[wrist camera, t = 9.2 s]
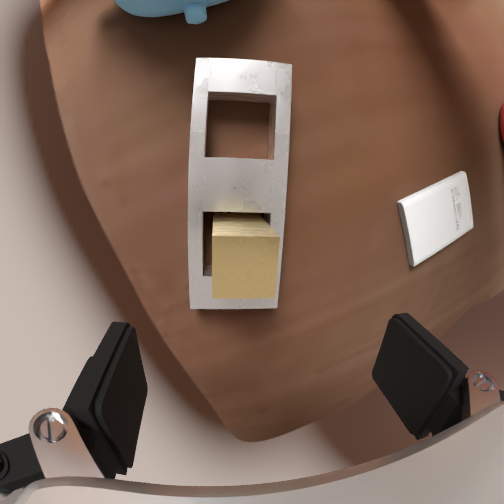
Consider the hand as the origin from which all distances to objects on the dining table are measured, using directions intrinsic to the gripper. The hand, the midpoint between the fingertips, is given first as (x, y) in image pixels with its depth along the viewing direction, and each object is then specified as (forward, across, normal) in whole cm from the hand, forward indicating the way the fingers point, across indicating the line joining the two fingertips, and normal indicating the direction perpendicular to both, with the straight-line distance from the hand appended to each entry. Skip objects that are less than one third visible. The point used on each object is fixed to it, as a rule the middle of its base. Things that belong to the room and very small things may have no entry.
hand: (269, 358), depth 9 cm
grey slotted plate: (+18, 0, -5) cm, 19 cm away
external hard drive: (+19, -25, -3) cm, 31 cm away
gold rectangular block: (+18, 0, 0) cm, 18 cm away
